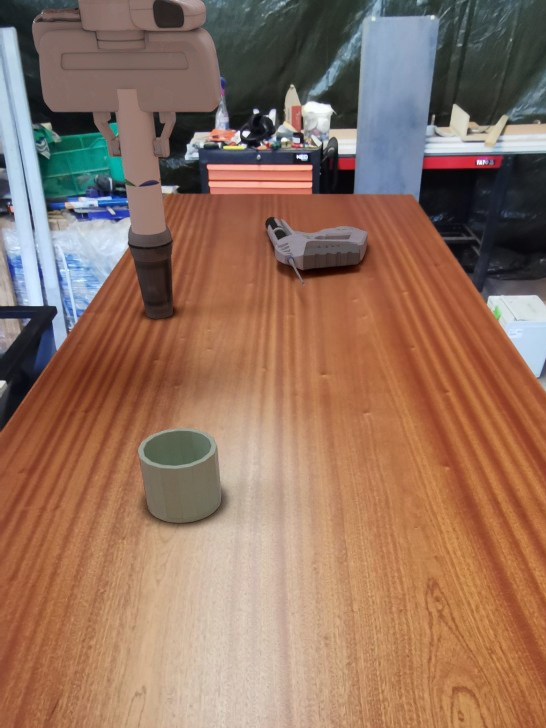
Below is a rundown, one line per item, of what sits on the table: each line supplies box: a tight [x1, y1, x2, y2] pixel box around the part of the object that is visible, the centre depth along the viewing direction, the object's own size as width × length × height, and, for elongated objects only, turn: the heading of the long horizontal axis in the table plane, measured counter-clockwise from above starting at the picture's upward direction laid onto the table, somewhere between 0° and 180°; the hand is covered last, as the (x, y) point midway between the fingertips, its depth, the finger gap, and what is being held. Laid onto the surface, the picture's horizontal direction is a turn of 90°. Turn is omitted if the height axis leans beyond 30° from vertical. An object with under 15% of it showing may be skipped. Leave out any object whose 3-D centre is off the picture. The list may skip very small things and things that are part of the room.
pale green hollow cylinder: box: [137, 427, 222, 524], centre depth 82 cm, size 8×8×7 cm
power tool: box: [264, 216, 369, 287], centre depth 142 cm, size 45×5×20 cm
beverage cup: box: [127, 222, 174, 320], centre depth 120 cm, size 7×7×20 cm
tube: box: [114, 89, 167, 235], centre depth 88 cm, size 4×4×15 cm
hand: (140, 156), depth 88 cm, fingers closed on tube, 4 cm apart
